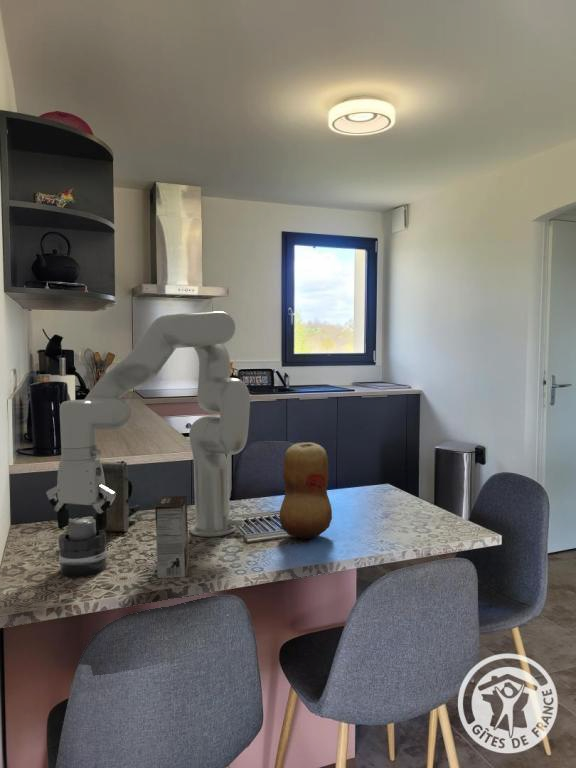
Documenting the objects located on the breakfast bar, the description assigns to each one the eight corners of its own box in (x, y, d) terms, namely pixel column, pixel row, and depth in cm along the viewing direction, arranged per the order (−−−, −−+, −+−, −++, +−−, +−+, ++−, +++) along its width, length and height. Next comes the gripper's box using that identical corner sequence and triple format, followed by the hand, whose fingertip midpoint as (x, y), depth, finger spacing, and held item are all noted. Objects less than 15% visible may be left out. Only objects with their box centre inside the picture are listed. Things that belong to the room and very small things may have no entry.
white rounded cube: (101, 540, 136) (100, 518, 136) (87, 548, 130) (86, 525, 130) (78, 538, 137) (77, 517, 137) (63, 547, 131) (62, 524, 131)
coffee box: (161, 564, 136) (159, 496, 135) (189, 562, 137) (187, 494, 136) (156, 579, 127) (153, 506, 126) (186, 577, 128) (183, 504, 127)
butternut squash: (294, 549, 144) (291, 449, 143) (272, 534, 156) (270, 442, 155) (342, 540, 150) (340, 444, 149) (317, 527, 162) (316, 438, 161)
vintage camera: (145, 519, 175) (142, 454, 175) (125, 533, 160) (122, 461, 160) (114, 520, 176) (111, 454, 176) (92, 534, 161) (89, 462, 161)
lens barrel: (115, 562, 138) (114, 529, 137) (91, 579, 128) (89, 543, 127) (77, 559, 140) (75, 527, 140) (50, 576, 130) (48, 540, 130)
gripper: (121, 452, 134) (124, 525, 135) (56, 450, 138) (59, 521, 139) (104, 457, 127) (107, 535, 128) (35, 456, 131) (38, 531, 132)
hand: (82, 528), depth 134 cm, fingers open, 9 cm apart
